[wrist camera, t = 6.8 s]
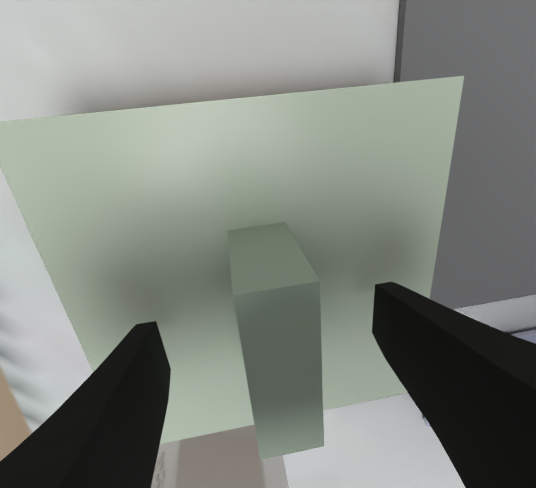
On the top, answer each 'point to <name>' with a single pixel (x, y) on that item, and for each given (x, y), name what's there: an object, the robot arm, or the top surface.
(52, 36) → the top surface
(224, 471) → the jar
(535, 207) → the mat
